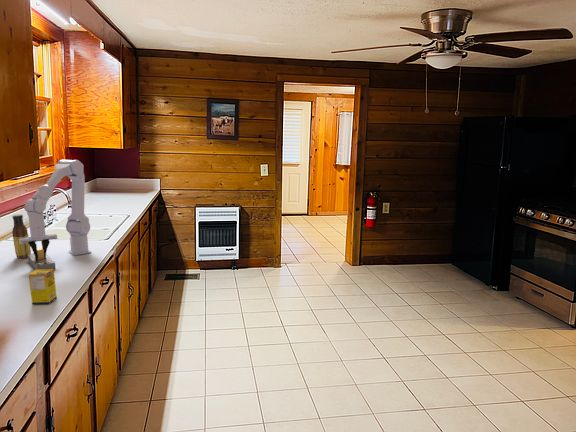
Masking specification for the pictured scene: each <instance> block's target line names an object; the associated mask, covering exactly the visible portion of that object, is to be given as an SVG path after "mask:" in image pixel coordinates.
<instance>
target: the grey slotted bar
mask: <svg viewBox="0 0 576 432" xmlns="http://www.w3.org/2000/svg"><path fill="white" fill-rule="evenodd" d="M44 258H45V259H43V260H37V259H36V258H35V255H34V252H33V253H31V254H27V258H26V259H27V262H28V263H29V264H30V265H31V267H32V268H33V269H34V271H35V270H36V269H54V271H56V270H57V269H56V262H55V261H54V260H53V259H52V258H51V257H50V256H49V255H48V254H47V253H46V257H44Z"/></svg>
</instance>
